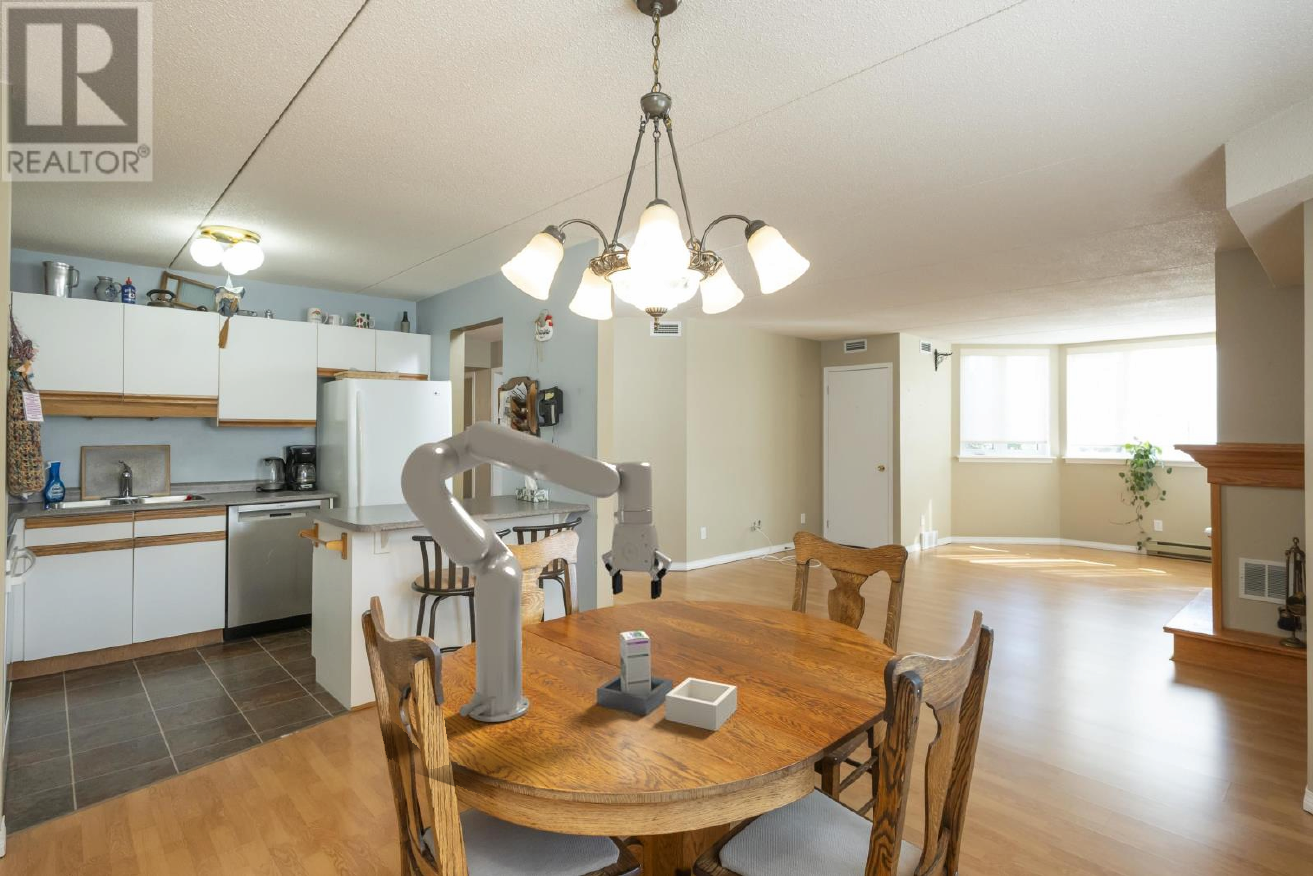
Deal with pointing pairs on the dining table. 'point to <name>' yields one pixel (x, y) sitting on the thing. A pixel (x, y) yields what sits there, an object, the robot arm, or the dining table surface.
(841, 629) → the dining table surface
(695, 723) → the cradle
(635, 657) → the syrup box
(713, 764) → the dining table surface
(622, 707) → the gray square frame
